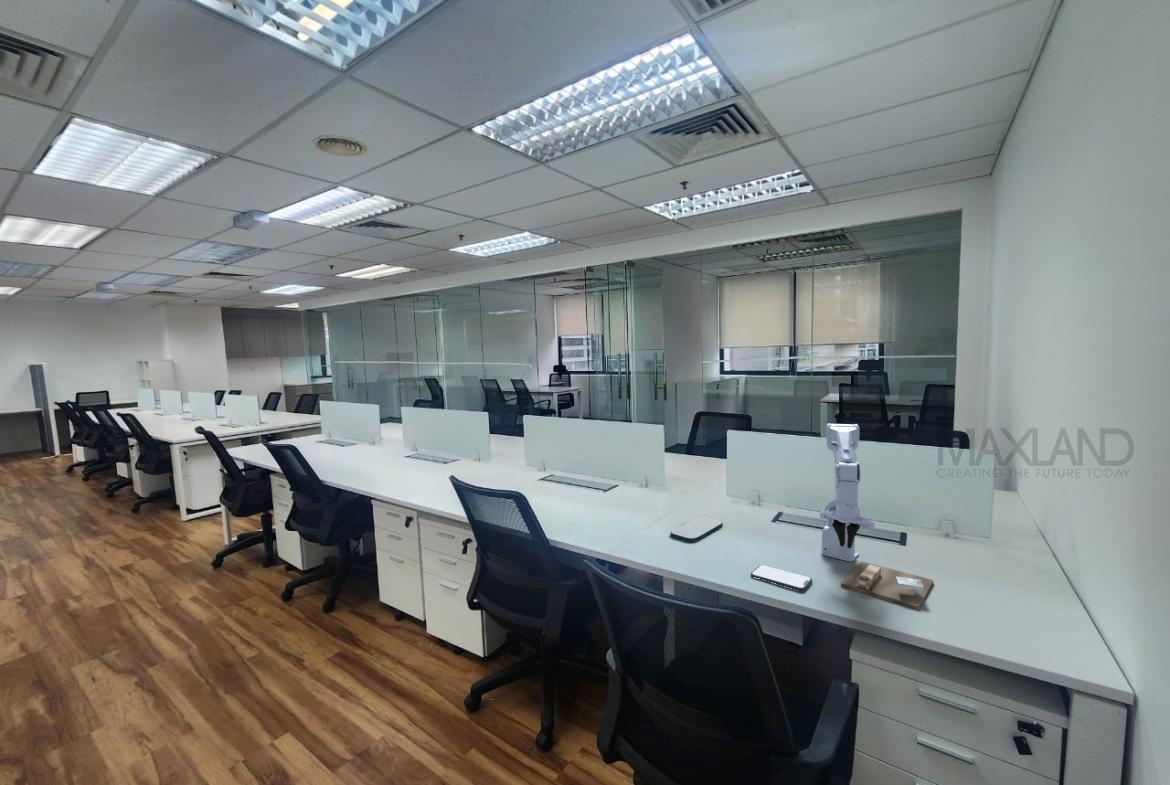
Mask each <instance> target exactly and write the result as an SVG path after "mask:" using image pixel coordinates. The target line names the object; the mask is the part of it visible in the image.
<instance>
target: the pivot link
mask: <svg viewBox="0 0 1170 785" xmlns="http://www.w3.org/2000/svg"><path fill="white" fill-rule="evenodd" d="M870 564H871V563H870ZM870 564H869V566H868V567H867V568H866V569H865V570H864V571H863V572H862V574H861V575H860V576H858V577H857V585H856V586H859V587H861V588H864V589H869V588H871V585H872V584H873V583H874V581H875V580H876V579H877V578H878V576H879V575H880V574H881V567H878V566H879V565H878V566H874V565H875V564H874V565H870Z"/></svg>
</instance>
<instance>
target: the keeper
mask: <svg viewBox="0 0 1170 785" xmlns="http://www.w3.org/2000/svg"><path fill="white" fill-rule="evenodd" d="M896 581H897V584H898V586H901V587H907V588H912V593H913V596H915V597H921V598H923V590H924V587H923V584H922V582H921V580H919V579H912V578H905V577H898V576H896Z"/></svg>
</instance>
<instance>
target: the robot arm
mask: <svg viewBox="0 0 1170 785" xmlns="http://www.w3.org/2000/svg"><path fill="white" fill-rule="evenodd" d="M825 431H826V432H825V433H826V434H825V436H826V438H825V439H826V446H827V449H828V450H830V451H832V454H833V456H834V479H835V480H834V482H835V483H834V486H835V488H834V490H835V491H834V492H835V496H834V497H835V498H834V499H832V500H831V501H829V502H828V503H827V504H826V506H827V509H826V508H825V510H826V511H825V510H821V511H820V514H819V518H820V519H822V520H824V519H825V522H826V523H825V524H826V525H824V527H823V529H822V534H821V552H820V554H821V555H823V556H826V557H830V558H834V559H837V560H838V559H839V560H841V561H845V562H850V563H851V562H853V561H854V560H855V559H856V558H857V557H858V556H859V555H860V554H859V552H858V551H857V552H856V551H855V548H856V546H855V545H856V542H855V541H856V535H857V532H858V531H859V530H860V529H861V527H863V528H868V529H869V530H874V529H875V526H876V524H875V522H876V521H875V520H871V519H867V518H865V517H861V513H860V506H859V483H860V482H861V477H862V476H861V473H862V472H861V466H860V463H859V461H858V460H857V459H858V458H857V452H856V451H857V449H858V447H859V441H860V426H859V425H858V423H855V424H853V423H852V424H847V423H846V424H845V423H830V422H828V423H827V424H826V427H825Z"/></svg>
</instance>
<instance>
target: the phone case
mask: <svg viewBox="0 0 1170 785" xmlns="http://www.w3.org/2000/svg"><path fill="white" fill-rule="evenodd" d="M751 576H753V577H756V578H760V579H763V580H766V581H769V582H773V583H776V584H778V585H782V586H786V587H789V588H792V589H795V590H798V591H805V590H806V589H807V590H808V588H809V587H810V586H811V585H812V584H813V578H812V577H809V576H806V575H802V574H799V573H794V572H790V571H787V570H785V569H784V570H783V569H779V568H776V567H772V566H769V565H764V564H760V565H758V566H757V567H756V568H754V569H753V570H752V571H751V572H750V577H751ZM811 583H812V584H811ZM810 584H811V585H810ZM778 585H777V586H778ZM809 585H810V586H809ZM808 586H809V587H808ZM807 590H806V591H807ZM798 591H797V592H798ZM806 591H805V592H806Z"/></svg>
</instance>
